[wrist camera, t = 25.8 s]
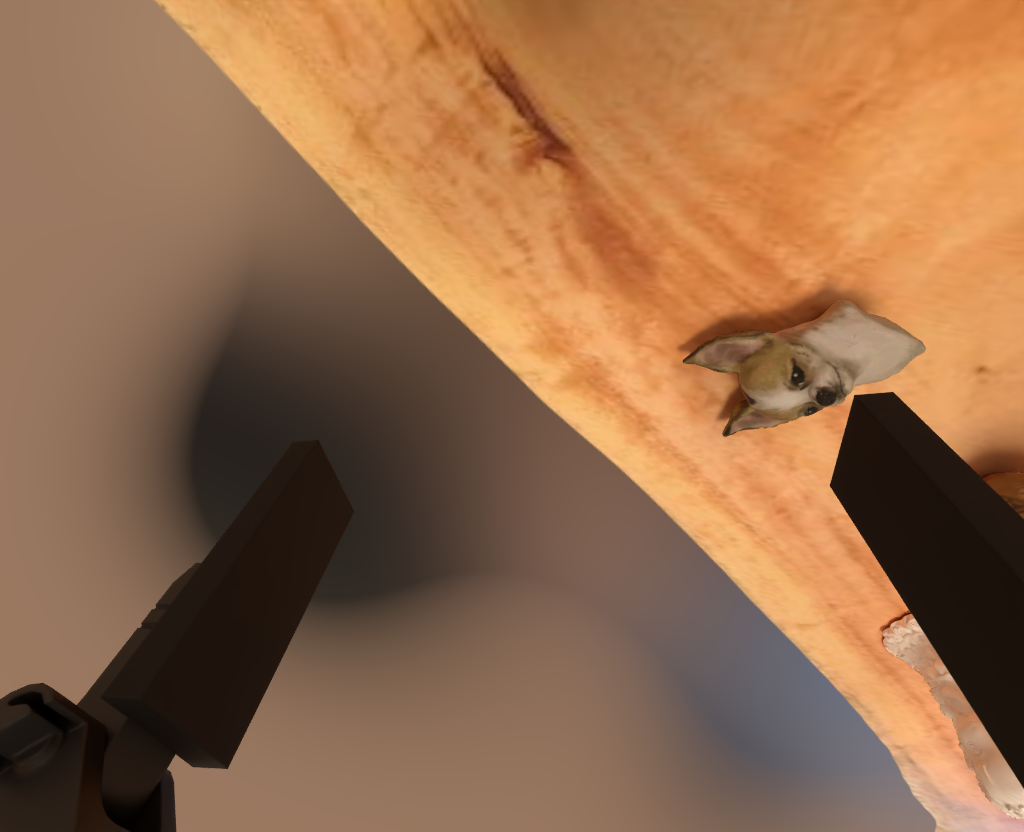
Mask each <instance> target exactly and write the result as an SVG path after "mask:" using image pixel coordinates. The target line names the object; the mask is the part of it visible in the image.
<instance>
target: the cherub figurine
mask: <svg viewBox="0 0 1024 832" xmlns="http://www.w3.org/2000/svg"><path fill="white" fill-rule="evenodd" d="M882 635H883V636H884V637H885V638H884V640H883V644H884V646H885V649H886V650H887V651H888V652H889V653H892V654H893V655H894V656H895V657H897V658H900V659H901V660H903V661H905V662H906V663H908V664H909V665H910V667H911V668H914V667H916V671H917V672H919V673H920V674H921V675H923V676H924V678H925V679H924V681H925V682H926V683H928V684H929V686H930V687H931V690H930V692H931V693H932V696H934V697H935V699H936V701H937V702H939V703H940V710H941V712H942V713H943V714H944V715H945V716H947V717H948V718H950V719H952V722H953V725H954V727H955V729H956V731H957V735H958V740H959V742H960V743H959V747H960V748H961V749H963V753H964V757H965V760H966V762H967V765H968V767H969V768H970V769H972V770H974V771H975V773H976V778H977V780H978V781H979V782H980V783H979V784H978V785H979V786H980V787H981V790H982V791H983V792H984V793H985V797H986V798H987V799H989V801H990V802H991V803H992V804H994V805H995V806H996V807H997V808H999V809H1000V810H1001V811H1002V812H1004V813H1005V814H1008V815H1009V816H1010V817H1012V816H1013V817H1014V818H1015V819H1016V818H1018V819H1022V820H1024V789H1023V787H1022V785H1021V784H1020V782H1019V781H1018V779H1017V778H1016V776H1015V775H1014V773H1013V771H1012V770H1011V768H1010V767H1009V765H1008V764H1007V762H1006V760H1005V759H1004V757H1003V756H1002V754H1001V753H1000V751H999V750H998V748H997V746H996V745H995V743H994V742H993V740H992V739H991V737H990V735H989V734H988V732H987V731H986V729H985V728H984V726H983V725H982V723H981V721H980V720H979V718H978V717H977V715H976V714H975V712H974V710H973V709H972V707H971V706H970V704H969V703H968V701H967V700H966V698H965V696H964V695H963V693H962V692H961V690H960V689H959V687H958V685H957V684H956V682H955V681H954V679H953V678H952V676H951V675H950V673H949V671H948V670H947V668H946V667H945V665H944V664H943V662H942V660H941V659H940V657H939V656H938V654H937V653H936V651H935V649H934V648H933V646H932V645H931V643H930V642H929V640H928V639H927V637H926V635H925V634H924V632H923V631H922V629H921V628H920V626H919V624H918V623H917V621H916V620H915V618H914V617H913V615H912V614H909V615H906V616H904V617H903V619H901V620H899V621H895V622H893V623H892V624H891V625H890V628H887V629H885V630H883V631H882Z"/></svg>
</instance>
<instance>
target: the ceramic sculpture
mask: <svg viewBox="0 0 1024 832" xmlns="http://www.w3.org/2000/svg"><path fill="white" fill-rule="evenodd" d="M925 350H926V347H925V346H924V344H923V343H922V341H920V340H918V339H917V338H915V337H914V336H912V335H911V334H910V333H909V332H907V331H906V330H904V329H903V328H901V327H900V326H898V325H897V324H896V323H893V322H891V321H890V320H888V319H886V318H885V317H881V316H877V315H872V314H868V313H866V312H864V311H862V310H860V309H858V308H857V307H856V306H855V304H854V303H853V302H852V301H850V300H846V299H845V300H839V301H837V302H835V303H833V304H832V305H831V306H830V307H829V308H828V309H827V310H826V311H825V312H824V313H823V314H822V315H821V316H820V317H819V318H817V319H815V320H813V321H810V322H806V323H803V324H800V325H797V326H795V327H792V328H788V329H784V330H780V331H778V332H775V333H771V332H767V331H760V330H750V331H740V332H739V331H735V332H732V333H728V334H723V335H720V336H717V337H715V338H714V339H712V340H710V341H707V342H706V343H704V344H703V345H701V346H700V347H698V348H697V349H696V350H695V351H694V352H692V353H691V354H690V355H689V356H688V357H687V358H685V359H684V360H683V363H686V364H696V365H699V366H702V367H706V368H709V369H711V370H713V371H717V372H722V373H732V372H737V373H738V380H739V385H740V389H741V391H742V393H743V395H744V396H745V398H746V399H745V400H743V401H741V402H740V403H738V404H737V405H736V406H735V408H734V410H733V412H732V414H731V416H730V419H729V421H728V423H727V425H726V427H725V429H724V431H723V433H722V435H723V437H727V436H729V435H732V434H734V433H736V432H738V431H741V430H746V429H759V428H760V427H763V428H768V427H775V426H777V425H779V424H782V423H787V422H789V421H793V420H796V419H797V418H799V417H801V416H809V415H811V414H814V413H816V412H817V411H819V410H822V409H823V408H824V407H828V406H836V405H838V404H840V403H842V402H843V401H844V400H845V397H846V396H847V395H848V394H849V393H851V391H852V390H853V387H854V386H857V385H862V384H868V383H874V382H878V381H882V380H884V379H887V378H889V377H890V376H892V375H894V374H896V373H898V372H900V371H901V370H902V369H903V368H904V367H905V366H906V365H907V364H908V363H909V362H910V361H911V360H912V359H913V358H915V357H916V356H918V355H920V354H922V353H923V352H925Z"/></svg>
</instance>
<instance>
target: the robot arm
mask: <svg viewBox="0 0 1024 832" xmlns="http://www.w3.org/2000/svg"><path fill="white" fill-rule="evenodd" d="M830 487H831V488H832V490H833V492H834V493H835V495H836V496H837V498H838V499H839V501H840V503H841V504H842V506H843V507H844V509H845V510H846V512H847V514H848V515H849V517H850V518H851V520H852V521H853V523H854V524H855V526H856V528H857V529H858V531H859V532H860V534H861V535H862V537H863V539H864V540H865V542H866V543H867V545H868V546H869V548H870V549H871V551H872V553H873V554H874V556H875V557H876V559H877V560H878V562H879V564H880V565H881V567H882V568H883V570H884V571H885V573H886V574H887V576H888V578H889V579H890V581H891V582H892V584H893V585H894V587H895V589H896V590H897V592H898V593H899V595H900V596H901V598H902V599H903V601H904V603H905V604H906V606H907V607H908V609H909V610H910V612H911V614H912V615H913V617H914V618H915V620H916V621H917V623H918V624H919V626H920V628H921V629H922V631H923V632H924V634H925V635H926V637H927V639H928V640H929V642H930V643H931V645H932V646H933V648H934V649H935V651H936V653H937V654H938V656H939V657H940V659H941V660H942V662H943V664H944V665H945V667H946V668H947V670H948V671H949V673H950V675H951V676H952V678H953V679H954V681H955V682H956V684H957V685H958V687H959V689H960V690H961V692H962V693H963V695H964V696H965V698H966V700H967V701H968V703H969V704H970V706H971V707H972V709H973V710H974V712H975V714H976V715H977V717H978V718H979V720H980V721H981V723H982V725H983V726H984V728H985V729H986V731H987V732H988V734H989V735H990V737H991V739H992V740H993V742H994V743H995V745H996V746H997V748H998V750H999V751H1000V753H1001V754H1002V756H1003V757H1004V759H1005V760H1006V762H1007V764H1008V765H1009V767H1010V768H1011V770H1012V771H1013V773H1014V775H1015V776H1016V778H1017V779H1018V781H1019V782H1020V784H1021V785H1022V787H1023V789H1024V519H1023V518H1022V517H1021V516H1020V515H1019V514H1018V513H1017V512H1016V511H1015V510H1014V509H1013V508H1012V507H1011V506H1010V505H1009V504H1008V503H1007V502H1006V501H1005V500H1004V499H1003V498H1002V497H1001V496H1000V495H999V494H998V493H997V492H996V491H995V490H993V489H992V488H991V487H990V486H989V485H988V484H987V483H986V482H985V481H984V480H983V479H982V478H981V477H980V476H979V475H978V474H977V473H976V472H975V471H974V470H973V469H972V468H971V467H970V466H969V465H968V464H967V463H966V462H965V461H964V460H963V459H962V458H960V457H959V456H958V455H957V454H956V453H955V452H954V451H953V450H952V449H951V448H950V447H949V446H948V445H947V444H946V443H945V442H944V441H943V440H942V439H941V438H940V437H939V436H938V435H937V434H936V433H935V432H934V431H933V430H932V429H931V428H930V427H929V426H928V425H926V424H925V423H924V422H923V421H922V420H921V419H920V418H919V417H918V416H917V415H916V414H915V413H914V412H913V411H912V410H911V409H910V408H909V407H908V406H907V405H906V404H905V403H904V402H903V401H902V400H901V399H900V398H899V397H898V396H897V395H896V394H895V393H893V392H887V393H875V394H863V395H854V399H853V402H852V406H851V410H850V413H849V417H848V421H847V425H846V428H845V432H844V436H843V439H842V443H841V447H840V450H839V454H838V458H837V461H836V465H835V469H834V472H833V476H832V480H831V483H830ZM353 513H354V510H353V508H352V506H351V504H350V502H349V500H348V498H347V496H346V494H345V492H344V490H343V488H342V486H341V484H340V482H339V480H338V478H337V476H336V474H335V472H334V470H333V468H332V466H331V464H330V462H329V460H328V458H327V456H326V454H325V452H324V450H323V448H322V447H321V444H320V442H319V441H318V440H313V441H302V442H293V443H292V444H291V445H290V447H289V448H288V449H287V451H286V452H285V453H284V455H283V456H282V457H281V459H280V460H279V461H278V463H277V464H276V465H275V467H274V468H273V469H272V471H271V472H270V473H269V475H268V476H267V477H266V479H265V480H264V481H263V482H262V484H261V485H260V486H259V488H258V489H257V490H256V492H255V493H254V495H253V496H252V497H251V498H250V500H249V501H248V502H247V504H246V505H245V506H244V508H243V509H242V510H241V512H240V513H239V514H238V516H237V517H236V518H235V520H234V521H233V522H232V524H231V525H230V526H229V528H228V529H227V530H226V532H225V533H224V534H223V536H222V537H221V538H220V540H219V541H218V542H217V543H216V545H215V546H214V548H213V549H212V550H211V552H210V553H209V554H208V555H207V557H206V558H205V560H204V561H203V562H202V563H196V564H194V565H193V566H192V567H191V568H190V569H189V570H187V571H186V572H185V573H184V574H183V575H182V576H180V577H179V578H178V579H177V580H176V581H175V582H173V583H172V585H171V586H170V587H169V589H168V590H167V591H166V592H165V594H164V595H163V596H162V598H161V599H160V600H159V601H158V603H157V604H156V608H155V609H152V610H151V612H150V613H149V614H148V616H147V617H146V618H145V619H144V621H143V622H142V623H141V624H142V626H141V628H137V630H136V631H135V632H134V633H133V635H132V636H131V637H130V639H129V640H128V641H127V642H126V644H125V645H124V646H123V647H122V649H121V650H120V651H119V653H118V654H117V655H116V656H115V658H114V659H113V660H112V662H111V663H110V664H109V665H108V667H107V668H106V669H105V671H104V672H103V673H102V674H101V676H100V677H99V678H98V679H97V681H96V682H95V683H94V685H93V686H92V687H91V688H90V690H89V691H88V692H87V694H86V695H85V696H84V697H83V699H82V700H81V701H80V702H79V703H78V704H77V705H75V704H74V703H72V702H71V701H70V700H68V699H67V698H65V697H64V696H63V695H61V694H60V693H58V692H57V691H55V690H54V689H53V688H51V687H49V686H48V685H45V684H44V683H40V684H31V685H27V686H25V687H22V688H20V689H18V690H16V691H13V692H11V693H9V694H8V695H6V696H5V697H3V698H2V699H0V832H176V817H175V796H174V781H173V778H172V775H171V772H170V771H169V770H167V768H168V766H169V764H170V763H171V761H172V759H173V758H174V756H175V754H176V755H178V756H179V757H180V758H181V759H183V760H184V761H186V762H187V763H189V765H191V766H192V767H202V768H222V769H228V767H229V765H230V763H231V761H232V759H233V757H234V755H235V753H236V751H237V749H238V747H239V745H240V742H241V741H242V738H243V737H244V734H245V732H246V731H247V728H248V726H249V724H250V722H251V720H252V718H253V716H254V714H255V712H256V710H257V708H258V706H259V704H260V702H261V700H262V698H263V696H264V694H265V692H266V690H267V688H268V686H269V684H270V682H271V680H272V678H273V676H274V674H275V672H276V670H277V667H278V666H279V663H280V661H281V659H282V657H283V655H284V653H285V651H286V649H287V647H288V645H289V643H290V641H291V639H292V637H293V635H294V633H295V631H296V629H297V627H298V625H299V623H300V621H301V619H302V617H303V615H304V613H305V611H306V609H307V606H308V604H309V602H310V600H311V598H312V596H313V594H314V592H315V590H316V588H317V586H318V584H319V582H320V580H321V578H322V576H323V574H324V572H325V570H326V568H327V566H328V564H329V562H330V560H331V558H332V556H333V554H334V552H335V550H336V548H337V546H338V544H339V542H340V539H341V537H342V536H343V533H344V531H345V529H346V527H347V525H348V523H349V521H350V519H351V517H352V515H353Z"/></svg>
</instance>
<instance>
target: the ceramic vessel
mask: <svg viewBox="0 0 1024 832" xmlns="http://www.w3.org/2000/svg"><path fill="white" fill-rule="evenodd" d="M982 479H983V480H984V481H985V482H986V483H987V484H988V485H989V486H990V487H991V488H992V489H993V490H995V491H996V492H997V493H998V494H999V495H1000V496H1001V497H1002V498H1003V499H1004V500H1005V501H1006V502H1007V503H1008V504H1009V505H1010V506H1011V507H1012V508H1013V509H1014V510H1015V511H1016V512H1017V513H1018V514H1019V515H1020V516H1021V517H1022V518H1023V519H1024V473H1022V472H1002V473H995V474H991V475H988V476H986V477H984V478H982Z"/></svg>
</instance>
